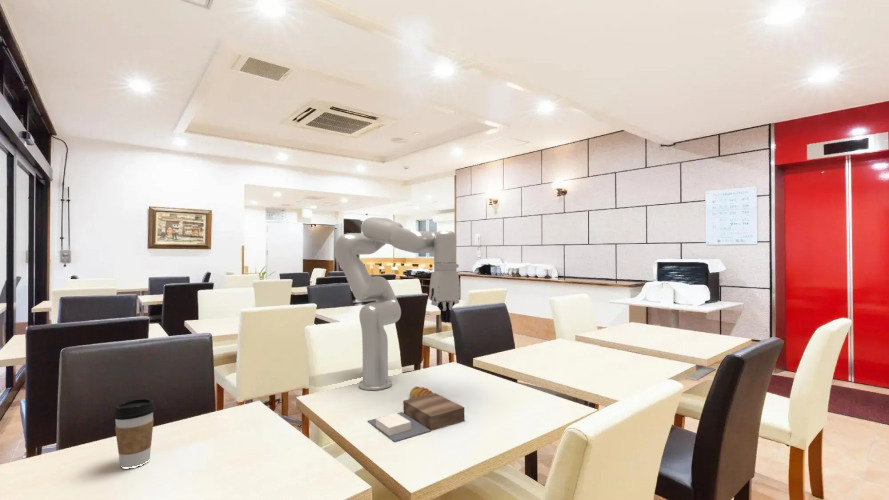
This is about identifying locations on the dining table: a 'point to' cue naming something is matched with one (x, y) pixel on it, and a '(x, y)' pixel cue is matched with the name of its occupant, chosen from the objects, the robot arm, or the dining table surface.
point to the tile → (393, 424)
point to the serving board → (433, 411)
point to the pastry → (419, 392)
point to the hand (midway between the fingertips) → (445, 321)
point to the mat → (415, 430)
